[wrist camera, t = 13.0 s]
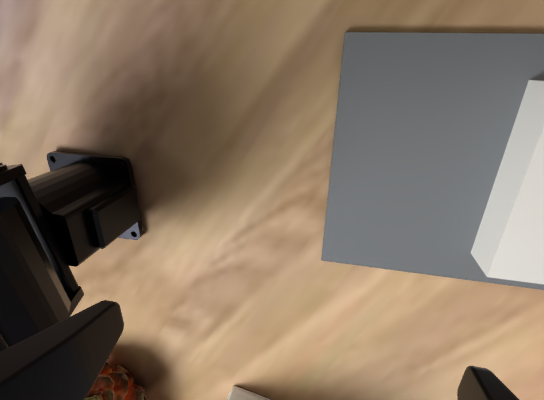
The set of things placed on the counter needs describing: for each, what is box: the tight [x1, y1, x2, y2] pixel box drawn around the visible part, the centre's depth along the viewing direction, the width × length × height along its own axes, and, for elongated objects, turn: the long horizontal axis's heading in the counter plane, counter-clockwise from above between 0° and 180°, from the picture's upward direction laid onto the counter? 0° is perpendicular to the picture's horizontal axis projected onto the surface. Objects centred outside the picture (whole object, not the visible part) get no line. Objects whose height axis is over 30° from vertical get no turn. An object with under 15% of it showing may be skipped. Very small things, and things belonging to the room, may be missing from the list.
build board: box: [321, 32, 544, 290], centre depth 16 cm, size 20×14×3 cm
